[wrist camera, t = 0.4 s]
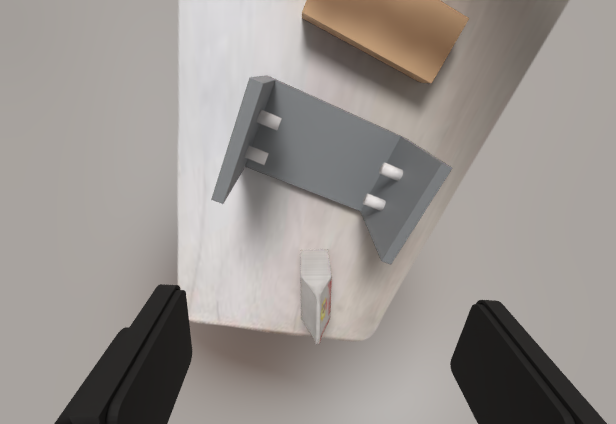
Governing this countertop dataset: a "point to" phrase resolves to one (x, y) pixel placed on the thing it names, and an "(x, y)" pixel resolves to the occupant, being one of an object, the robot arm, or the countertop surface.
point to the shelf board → (393, 30)
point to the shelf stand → (333, 159)
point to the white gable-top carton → (315, 291)
